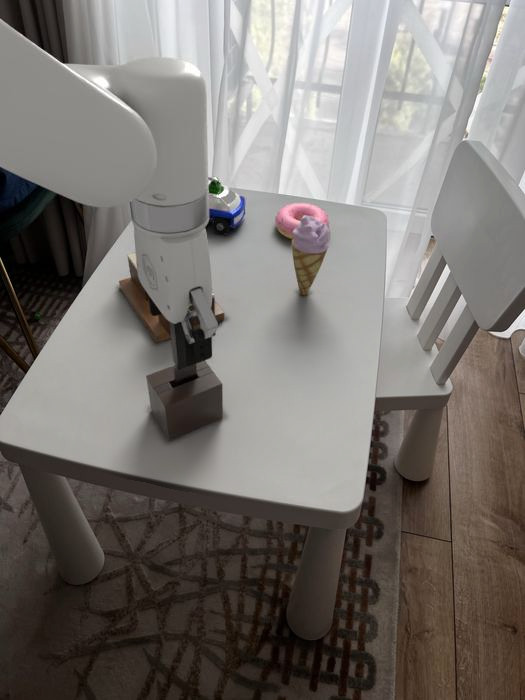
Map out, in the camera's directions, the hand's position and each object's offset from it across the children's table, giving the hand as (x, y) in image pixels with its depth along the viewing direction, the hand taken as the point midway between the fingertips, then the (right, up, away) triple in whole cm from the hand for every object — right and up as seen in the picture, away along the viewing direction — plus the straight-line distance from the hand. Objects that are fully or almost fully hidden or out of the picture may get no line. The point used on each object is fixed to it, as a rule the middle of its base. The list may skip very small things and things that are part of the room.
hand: (180, 335), depth 63 cm
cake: (-8, +10, +29) cm, 31 cm away
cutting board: (-6, +6, +27) cm, 29 cm away
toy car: (0, +25, +47) cm, 53 cm away
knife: (0, -10, +11) cm, 15 cm away
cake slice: (-2, +3, +22) cm, 23 cm away
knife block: (-1, -11, +10) cm, 15 cm away
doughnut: (+18, +23, +46) cm, 54 cm away
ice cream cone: (+17, +9, +31) cm, 37 cm away
